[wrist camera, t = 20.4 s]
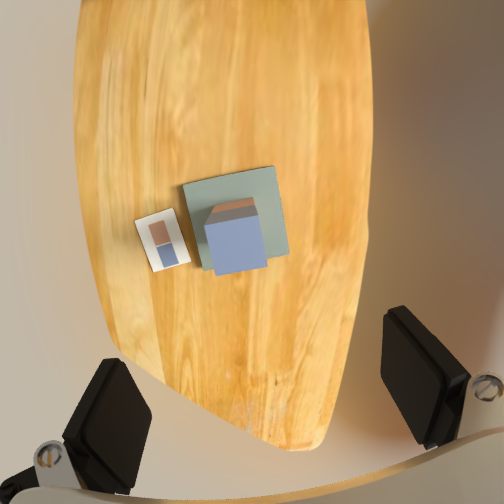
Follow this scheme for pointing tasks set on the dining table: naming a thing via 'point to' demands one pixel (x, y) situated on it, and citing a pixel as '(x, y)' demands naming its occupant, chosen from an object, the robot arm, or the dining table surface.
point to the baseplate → (232, 189)
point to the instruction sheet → (162, 240)
